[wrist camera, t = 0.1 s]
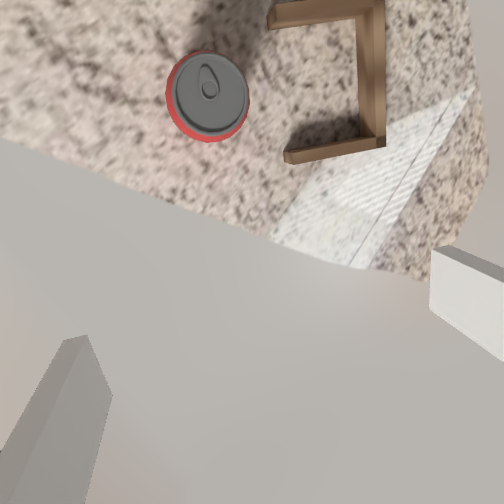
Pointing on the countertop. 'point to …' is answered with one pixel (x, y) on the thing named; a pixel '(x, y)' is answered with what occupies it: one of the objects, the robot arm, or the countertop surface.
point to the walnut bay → (368, 67)
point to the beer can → (207, 96)
